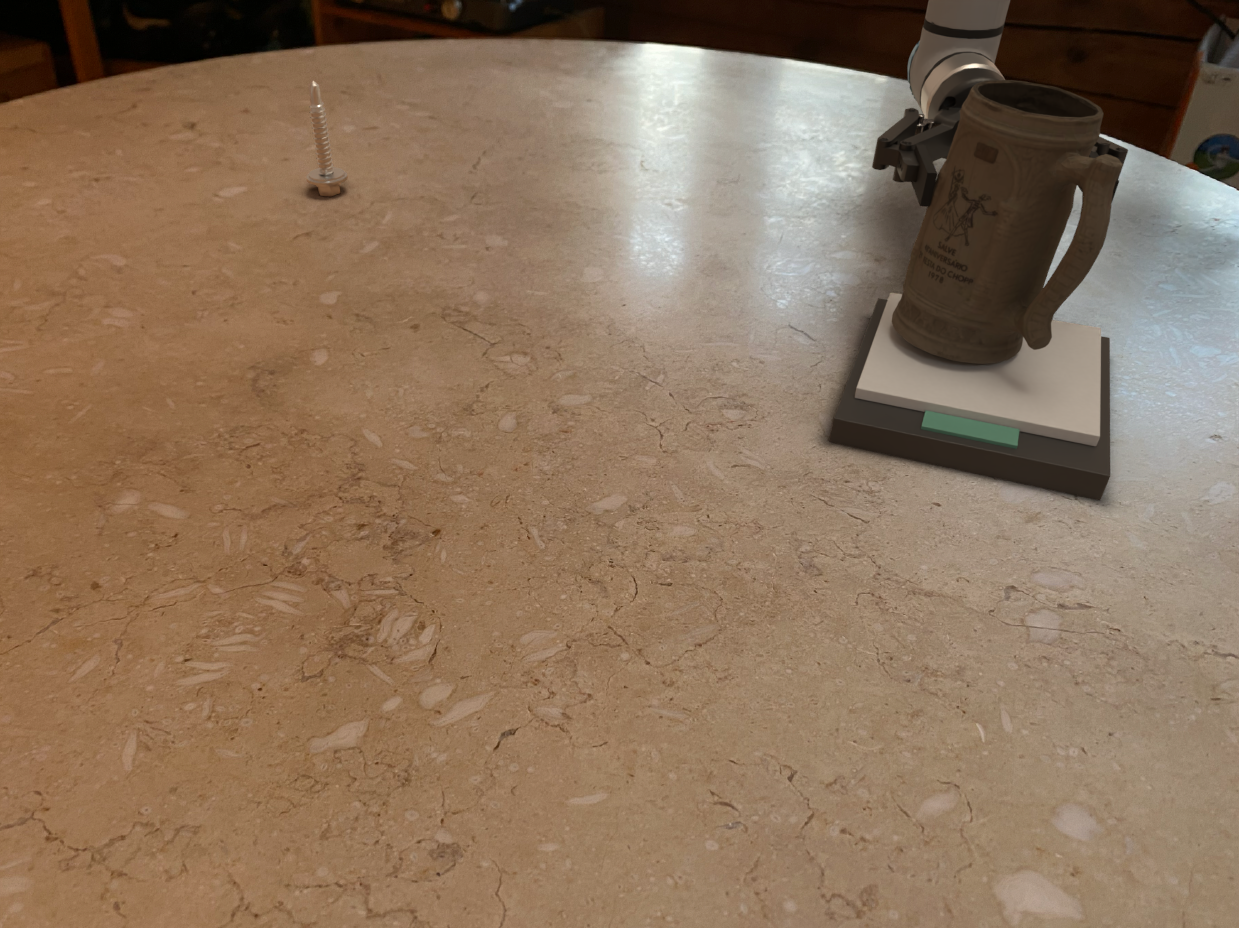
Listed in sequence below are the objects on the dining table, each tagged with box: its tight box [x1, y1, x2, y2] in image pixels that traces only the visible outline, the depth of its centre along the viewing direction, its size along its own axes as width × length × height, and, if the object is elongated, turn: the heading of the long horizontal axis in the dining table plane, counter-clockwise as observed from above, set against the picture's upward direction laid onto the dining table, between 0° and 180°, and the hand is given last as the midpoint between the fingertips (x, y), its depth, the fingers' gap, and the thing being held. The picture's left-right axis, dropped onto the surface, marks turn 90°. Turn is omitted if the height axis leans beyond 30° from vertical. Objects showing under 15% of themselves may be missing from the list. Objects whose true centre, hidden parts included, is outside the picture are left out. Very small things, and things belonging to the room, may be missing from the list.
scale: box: [828, 292, 1111, 501], centre depth 87 cm, size 20×22×4 cm
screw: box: [305, 80, 349, 198], centre depth 121 cm, size 13×5×5 cm
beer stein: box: [892, 79, 1124, 364], centre depth 81 cm, size 15×11×20 cm
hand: (1017, 194), depth 81 cm, fingers open, 13 cm apart
